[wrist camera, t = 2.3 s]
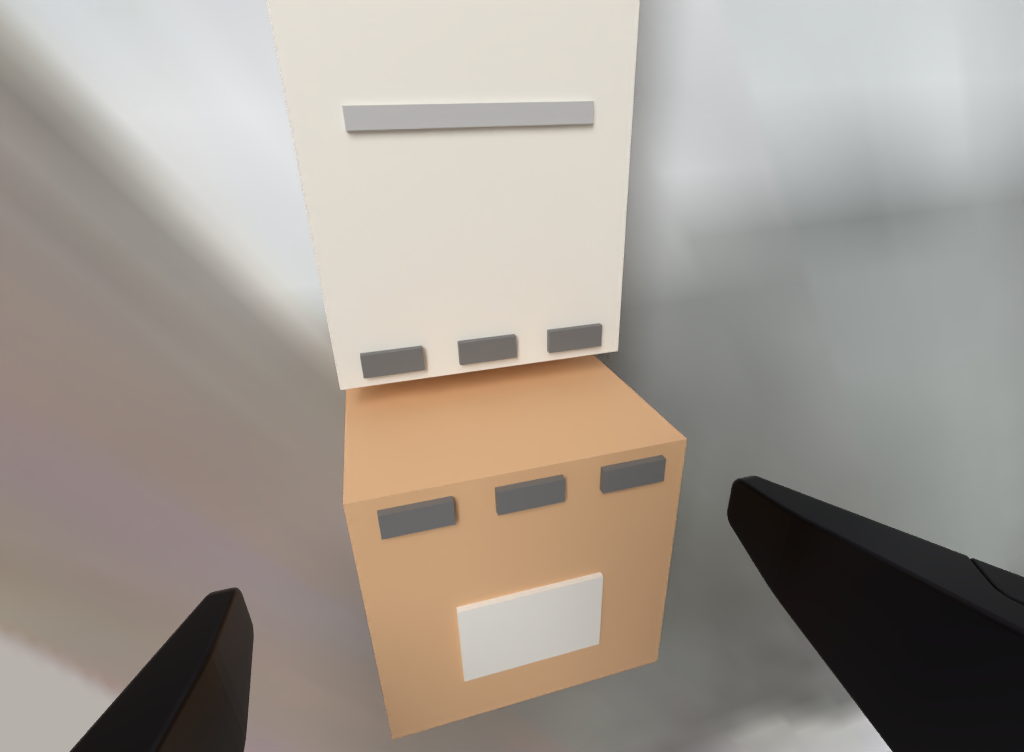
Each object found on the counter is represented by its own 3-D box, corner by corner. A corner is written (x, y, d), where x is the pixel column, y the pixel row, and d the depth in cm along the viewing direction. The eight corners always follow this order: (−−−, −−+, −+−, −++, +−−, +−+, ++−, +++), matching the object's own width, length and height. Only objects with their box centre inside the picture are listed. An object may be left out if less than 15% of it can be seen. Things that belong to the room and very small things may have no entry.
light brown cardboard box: (552, 317, 13) (691, 443, 8) (552, 480, 15) (660, 667, 10) (347, 342, 12) (343, 510, 7) (377, 514, 14) (393, 746, 9)
